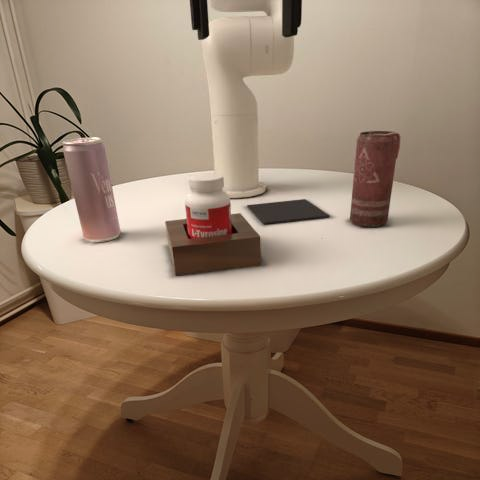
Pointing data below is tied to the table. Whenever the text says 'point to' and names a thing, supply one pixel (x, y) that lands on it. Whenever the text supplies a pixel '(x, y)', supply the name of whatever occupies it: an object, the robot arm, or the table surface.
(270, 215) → the coaster
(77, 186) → the beverage can
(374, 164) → the can
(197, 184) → the pill bottle
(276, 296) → the table surface
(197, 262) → the holder
